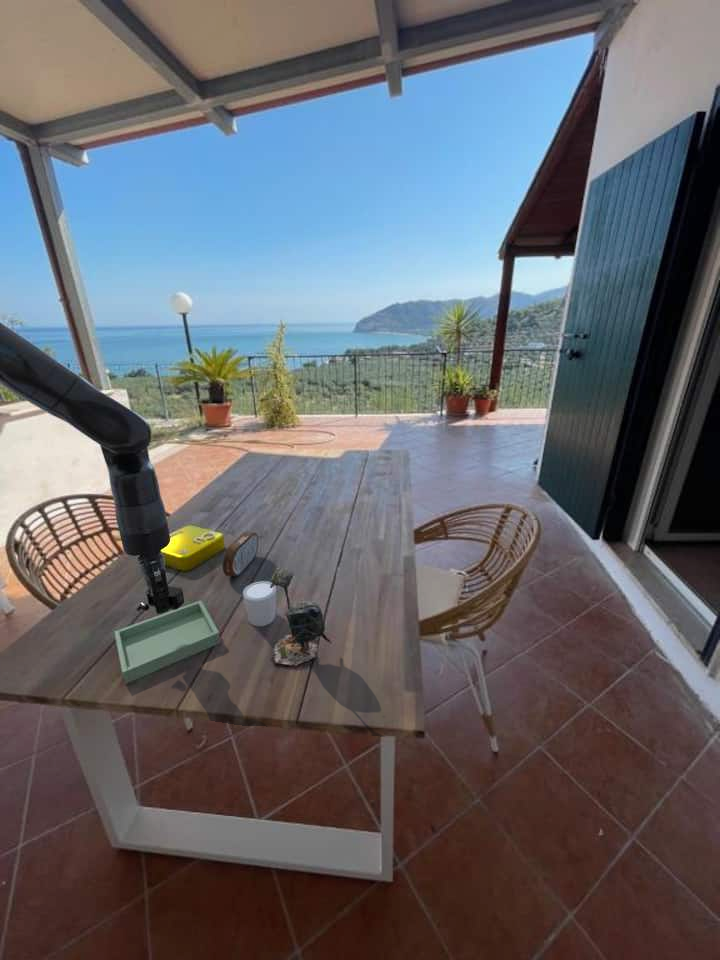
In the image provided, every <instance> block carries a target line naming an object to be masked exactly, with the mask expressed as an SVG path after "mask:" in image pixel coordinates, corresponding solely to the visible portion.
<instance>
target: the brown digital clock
mask: <svg viewBox="0 0 720 960" xmlns="http://www.w3.org/2000/svg"><path fill="white" fill-rule="evenodd" d="M258 549H259V536H258V534H257V533H256V532H252V531H249V530H246V531H243V532H242V533H241V534H240V535H239V536H238V537H237V538H236V539H235V540H233V542H232V543H230V544H229V546H228V547H227V549H226V550H225V552H224V555H223V559H222V572H223V574H224V575H225V576H228V577H229V576H230V577H239V576H240V575H241V574H242V573H243V572H244V571H245V570H246V568H247V567H249V565H250V564H251V563H252V562H253V561H254V559H255V558H256V557H257V553H258Z"/></svg>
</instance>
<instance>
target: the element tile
mask: <svg viewBox="0 0 720 960" xmlns="http://www.w3.org/2000/svg"><path fill="white" fill-rule="evenodd" d="M169 534H170V543H169V545H168V546H167V547H166V548H164V549H162V550H161V553H162V555H163V556H164V560H165V565H164V566H166V567H168V566H169V567H168V568H172V569H175V570H178V571H180V572H188V571H190V570H193V569H195V568H196V567H198V566H199V565H201V564H202V563H204V562H205V561H207V560H209V559H210V558H213V557H214V556H216V555H217V554H219V553H220V552H222V551H223V550H224V549H225V548H226V547H225V545H226V544H225V538H224V534H223V533H222V532H218V531H214V530H211V529H207V528H203V527H200V526H197V525H189V524H188V525H186V526H183V527H182V528H179V529H177V530H175V531H173V532H170V533H169Z"/></svg>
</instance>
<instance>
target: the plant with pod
mask: <svg viewBox="0 0 720 960" xmlns="http://www.w3.org/2000/svg"><path fill="white" fill-rule="evenodd" d="M293 575H294V572H293V571H291V570H289V569H288V568H285V567H281V566H277V568H276V569H275V572H274V573H273V575H272V577H271V583H272V584H271V586H270V588H272V587H273V586H274V585H275V586H280V587H281V588H283V590H284V594H285V597H286V603H287V611H286V613H285V616H286V619H287V623H288V626H289V629H290V631H291V634H287V635H285V637H284V638H280V639H278V641H276V642H275V643H274V647H273V651H272V655H271V658H270V661H271V662H272V663H274V664H280V665H288V666H289V665H290V666H292V665H293V667H296V666H298V665H300V664H303V663H306V662H309V661H310V660H313V659H316V658H317V657H318V643H319V641H318V640H317V638H319V637H322V638H323V639H324V640H325V641H327V642H328V643H329V644H332V640H331V638H329V637H327V635H326V634H325V630H326V625H325V617H324V614H323V611H322V609H321V607H320V605H319V604H318V603H317V602H315V601H313V600H304V601H300V602H296V603H294V605H291V604H290V603H291V602H290V597H289V595H288V594H289V586H290V585H291V582H292V578H293ZM290 606H291V607H290Z"/></svg>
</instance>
